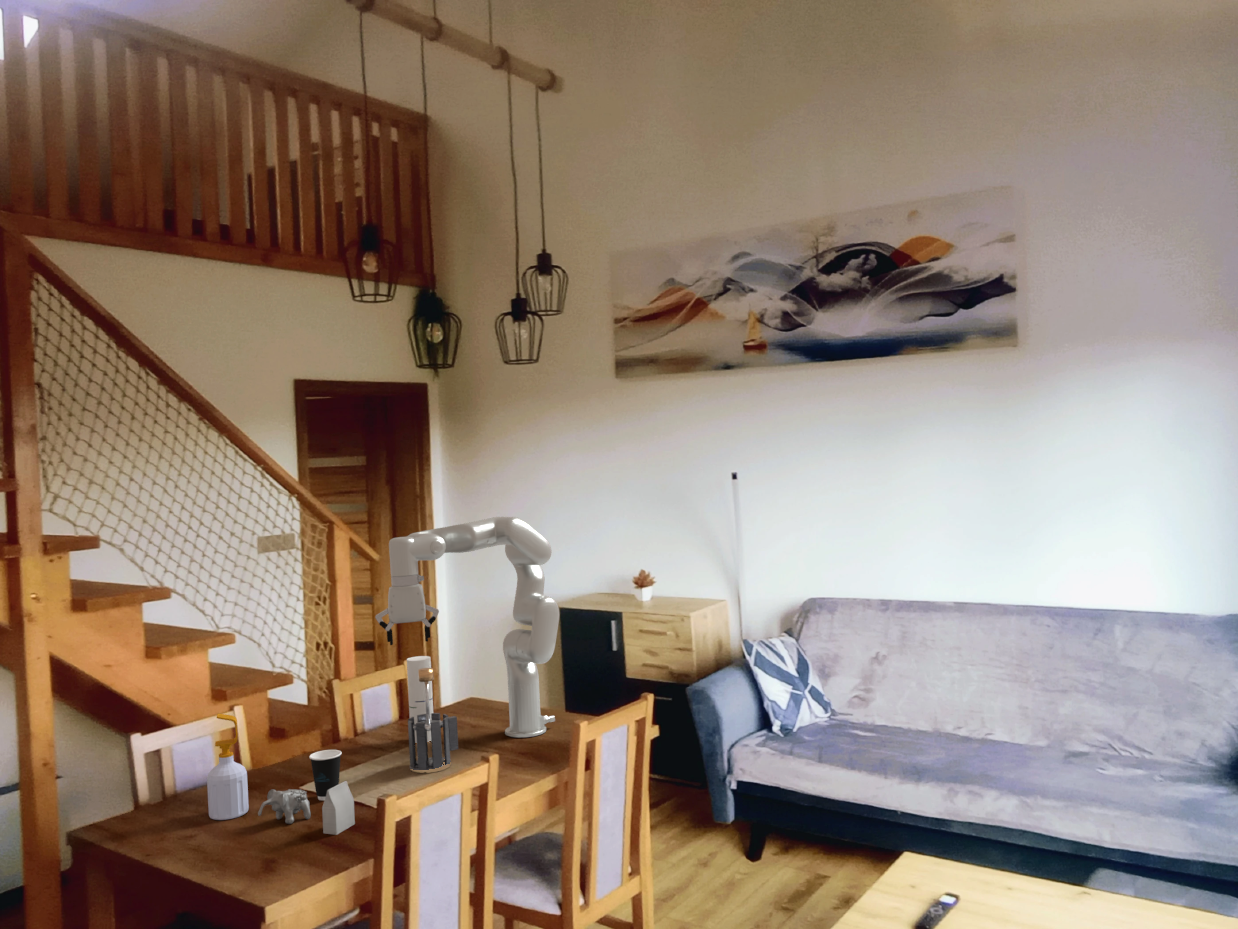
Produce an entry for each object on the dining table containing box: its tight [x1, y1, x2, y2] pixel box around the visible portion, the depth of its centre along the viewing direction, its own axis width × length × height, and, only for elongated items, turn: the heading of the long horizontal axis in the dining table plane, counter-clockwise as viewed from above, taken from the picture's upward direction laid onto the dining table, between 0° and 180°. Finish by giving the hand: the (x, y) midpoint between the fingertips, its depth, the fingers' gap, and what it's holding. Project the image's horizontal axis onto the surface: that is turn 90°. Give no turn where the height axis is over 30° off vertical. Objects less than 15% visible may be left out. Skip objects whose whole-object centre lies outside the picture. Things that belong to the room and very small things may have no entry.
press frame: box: [407, 712, 459, 770], centre depth 269 cm, size 14×11×14 cm
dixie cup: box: [308, 749, 342, 801], centre depth 247 cm, size 8×8×11 cm
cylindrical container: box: [406, 655, 434, 743], centre depth 295 cm, size 7×7×25 cm
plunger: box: [413, 667, 443, 731], centre depth 268 cm, size 8×8×16 cm
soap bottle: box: [206, 713, 250, 821], centre depth 238 cm, size 9×9×25 cm
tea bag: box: [321, 780, 356, 836], centre depth 224 cm, size 4×7×10 cm, turn 159°
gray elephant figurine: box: [257, 788, 311, 825], centre depth 231 cm, size 9×12×8 cm
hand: (409, 642), depth 270 cm, fingers open, 9 cm apart
